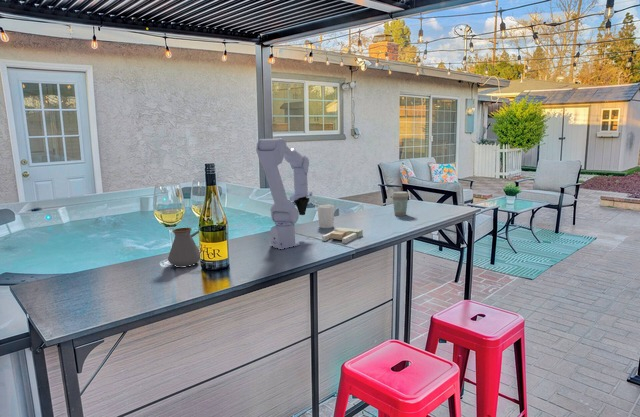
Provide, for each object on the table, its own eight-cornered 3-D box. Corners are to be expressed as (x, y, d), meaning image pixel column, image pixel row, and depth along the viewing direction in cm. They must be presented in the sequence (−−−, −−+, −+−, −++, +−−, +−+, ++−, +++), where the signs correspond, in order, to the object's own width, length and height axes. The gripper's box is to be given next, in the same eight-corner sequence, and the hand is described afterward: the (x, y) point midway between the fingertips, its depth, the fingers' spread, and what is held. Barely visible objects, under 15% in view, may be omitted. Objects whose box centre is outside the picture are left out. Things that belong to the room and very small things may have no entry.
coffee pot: (175, 272, 145) (170, 229, 142) (164, 264, 154) (159, 223, 151) (232, 258, 158) (229, 219, 155) (219, 252, 167) (216, 214, 164)
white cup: (315, 228, 201) (314, 207, 199) (322, 224, 208) (322, 204, 206) (330, 229, 198) (329, 208, 196) (337, 225, 204) (337, 205, 203)
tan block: (341, 241, 176) (341, 234, 175) (330, 240, 178) (330, 233, 178) (349, 237, 181) (349, 230, 181) (339, 236, 184) (338, 229, 184)
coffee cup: (388, 214, 226) (388, 192, 223) (402, 212, 229) (402, 190, 227) (398, 217, 218) (398, 194, 216) (411, 215, 222) (412, 192, 219)
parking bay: (346, 243, 172) (346, 237, 172) (321, 240, 178) (321, 234, 178) (362, 235, 184) (362, 229, 184) (338, 232, 190) (338, 227, 190)
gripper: (298, 186, 175) (300, 218, 177) (317, 182, 187) (318, 212, 189) (284, 185, 179) (286, 217, 181) (304, 181, 191) (305, 211, 193)
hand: (302, 214), depth 186 cm, fingers closed
